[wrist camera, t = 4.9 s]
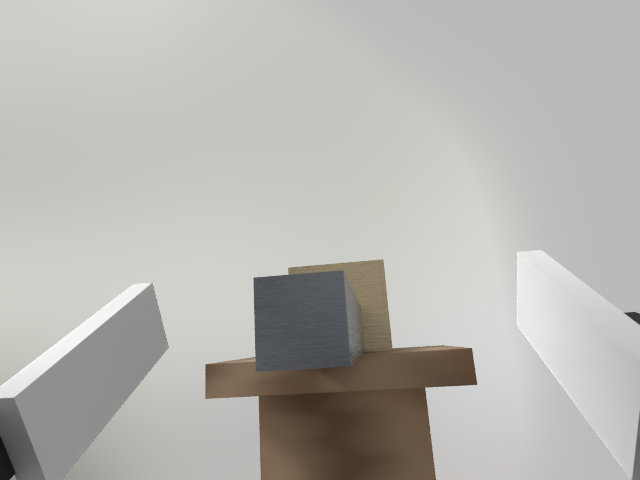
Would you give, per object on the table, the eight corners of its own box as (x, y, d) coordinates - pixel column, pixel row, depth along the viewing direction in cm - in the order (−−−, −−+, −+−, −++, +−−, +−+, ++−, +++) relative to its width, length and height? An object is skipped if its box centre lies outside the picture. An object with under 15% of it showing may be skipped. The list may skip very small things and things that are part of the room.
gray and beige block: (201, 375, 11) (202, 197, 12) (304, 354, 27) (300, 277, 28) (410, 362, 11) (389, 177, 12) (390, 348, 26) (382, 270, 28)
